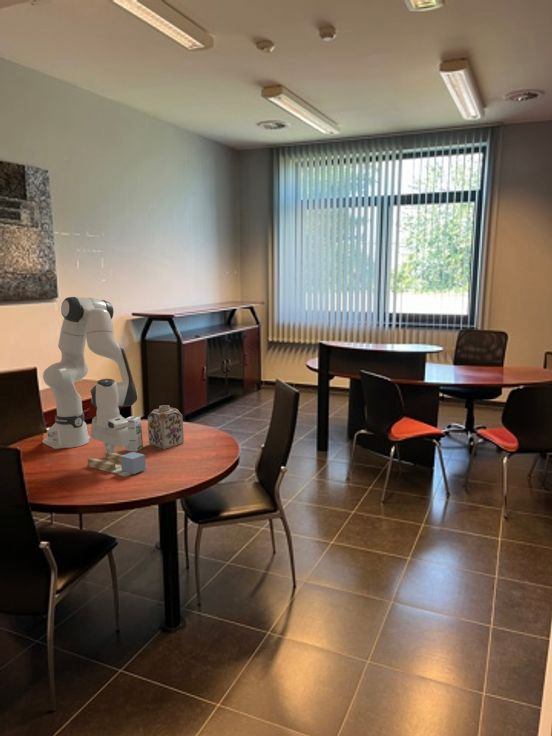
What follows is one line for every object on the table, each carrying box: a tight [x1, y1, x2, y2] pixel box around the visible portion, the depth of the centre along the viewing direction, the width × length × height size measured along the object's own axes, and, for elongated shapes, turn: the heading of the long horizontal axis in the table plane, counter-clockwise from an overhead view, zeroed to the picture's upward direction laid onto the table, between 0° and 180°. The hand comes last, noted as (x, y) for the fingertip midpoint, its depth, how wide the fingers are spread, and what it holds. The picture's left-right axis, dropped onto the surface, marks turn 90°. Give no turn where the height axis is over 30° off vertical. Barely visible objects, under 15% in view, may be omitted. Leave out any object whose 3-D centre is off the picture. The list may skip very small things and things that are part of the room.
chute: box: [87, 451, 148, 477], centre depth 216 cm, size 23×11×3 cm, turn 56°
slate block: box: [121, 451, 147, 475], centre depth 210 cm, size 7×6×6 cm
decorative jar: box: [147, 404, 185, 450], centre depth 243 cm, size 12×12×18 cm
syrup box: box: [124, 415, 144, 452], centre depth 237 cm, size 6×6×14 cm
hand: (110, 452), depth 216 cm, fingers closed
